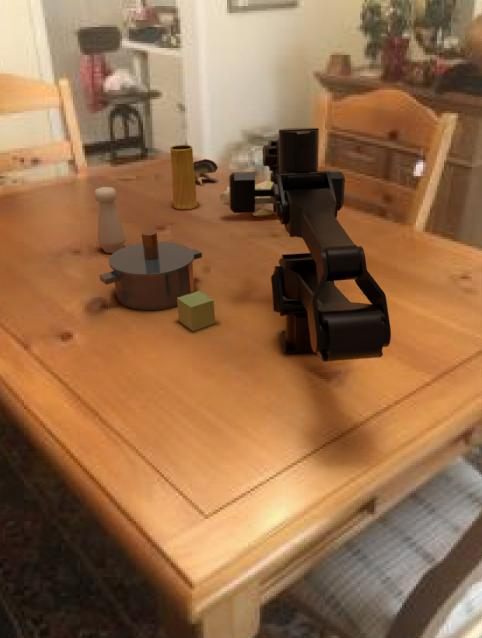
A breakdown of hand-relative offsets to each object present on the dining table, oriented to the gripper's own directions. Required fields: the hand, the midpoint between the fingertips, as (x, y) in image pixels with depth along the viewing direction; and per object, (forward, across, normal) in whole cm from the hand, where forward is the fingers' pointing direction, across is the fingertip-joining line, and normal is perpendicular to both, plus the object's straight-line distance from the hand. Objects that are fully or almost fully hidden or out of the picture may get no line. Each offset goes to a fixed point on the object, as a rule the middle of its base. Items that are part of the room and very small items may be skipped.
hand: (278, 184), depth 109 cm
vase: (+48, +16, +12) cm, 52 cm away
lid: (-2, +23, +12) cm, 26 cm away
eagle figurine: (+68, +11, +9) cm, 69 cm away
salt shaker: (+22, +32, +16) cm, 42 cm away
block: (-13, +16, +20) cm, 29 cm away
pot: (-1, +23, +19) cm, 29 cm away
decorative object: (+38, -5, +12) cm, 41 cm away
